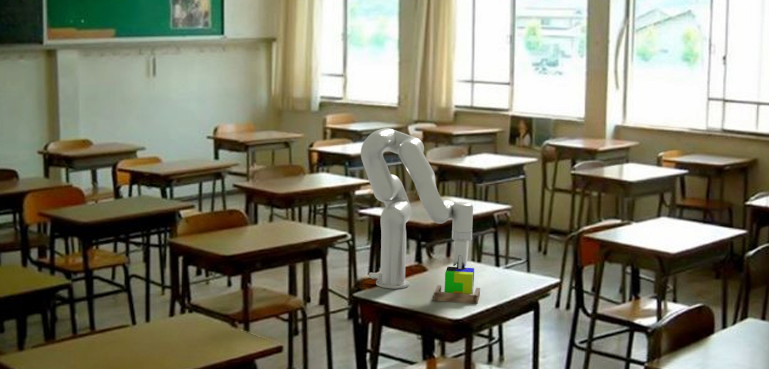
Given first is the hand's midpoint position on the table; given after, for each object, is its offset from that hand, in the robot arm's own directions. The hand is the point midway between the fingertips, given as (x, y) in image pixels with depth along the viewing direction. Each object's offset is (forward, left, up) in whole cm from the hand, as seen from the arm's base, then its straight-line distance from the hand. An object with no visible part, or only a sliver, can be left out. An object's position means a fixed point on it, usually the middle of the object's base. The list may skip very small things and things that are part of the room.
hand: (460, 282), depth 403 cm
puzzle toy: (0, -8, -3) cm, 9 cm away
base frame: (0, -11, -3) cm, 11 cm away
